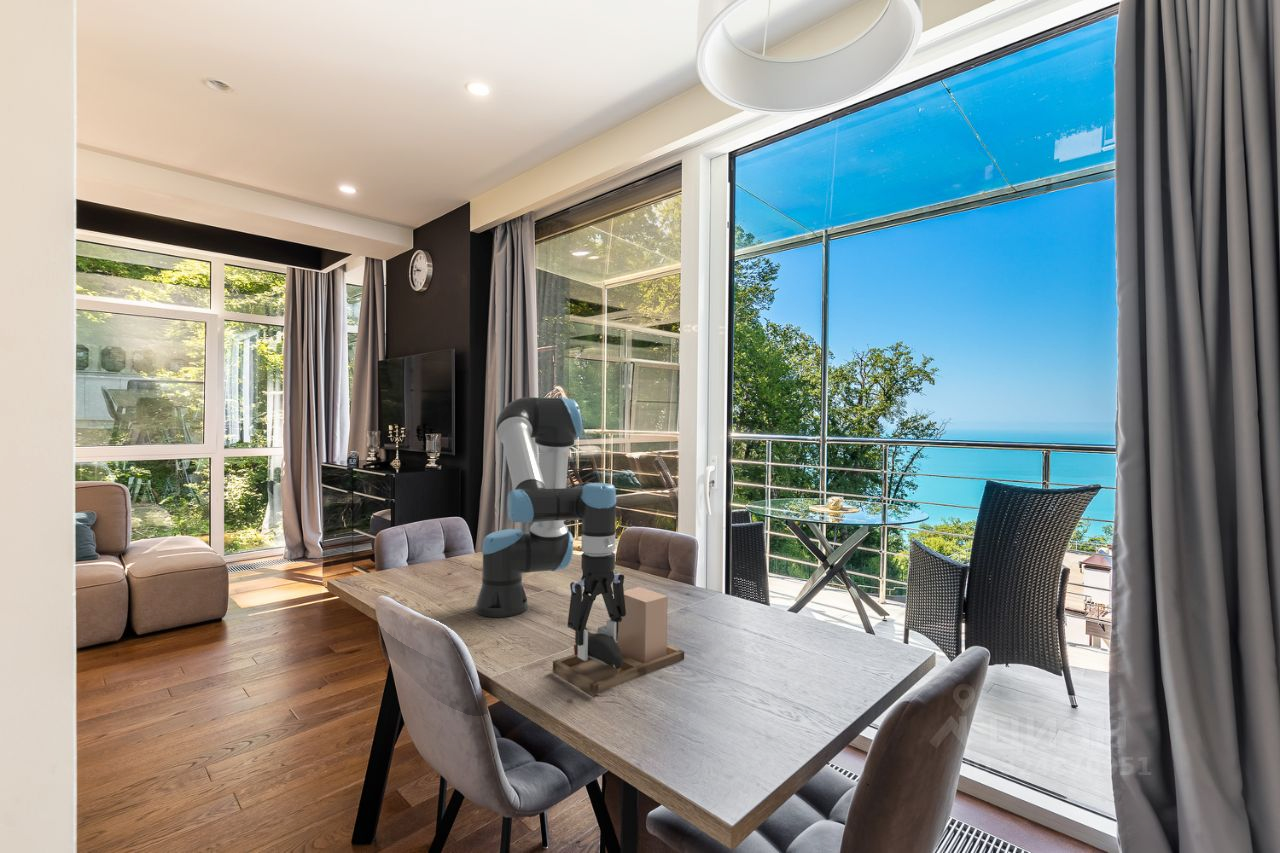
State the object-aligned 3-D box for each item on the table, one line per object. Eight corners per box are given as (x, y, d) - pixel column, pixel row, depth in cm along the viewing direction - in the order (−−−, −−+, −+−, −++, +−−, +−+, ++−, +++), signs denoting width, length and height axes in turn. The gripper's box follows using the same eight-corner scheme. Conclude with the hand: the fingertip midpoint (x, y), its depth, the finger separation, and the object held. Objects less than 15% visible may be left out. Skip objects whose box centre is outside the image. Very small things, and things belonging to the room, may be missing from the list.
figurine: (567, 669, 132) (607, 679, 121) (563, 624, 134) (603, 630, 122) (593, 660, 137) (634, 669, 126) (589, 617, 138) (629, 622, 127)
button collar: (597, 640, 151) (597, 627, 151) (618, 633, 156) (618, 621, 156) (614, 648, 146) (614, 635, 146) (635, 641, 150) (635, 629, 150)
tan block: (617, 653, 141) (618, 592, 140) (639, 646, 145) (639, 586, 145) (644, 667, 133) (645, 602, 133) (666, 659, 138) (667, 596, 138)
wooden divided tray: (552, 672, 132) (552, 661, 132) (641, 643, 149) (641, 633, 149) (593, 697, 120) (593, 685, 120) (684, 662, 138) (684, 651, 138)
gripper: (570, 562, 120) (569, 672, 121) (643, 549, 134) (641, 647, 134) (550, 556, 126) (549, 660, 126) (622, 543, 139) (621, 637, 140)
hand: (597, 653), depth 130 cm, fingers closed on figurine, 7 cm apart
